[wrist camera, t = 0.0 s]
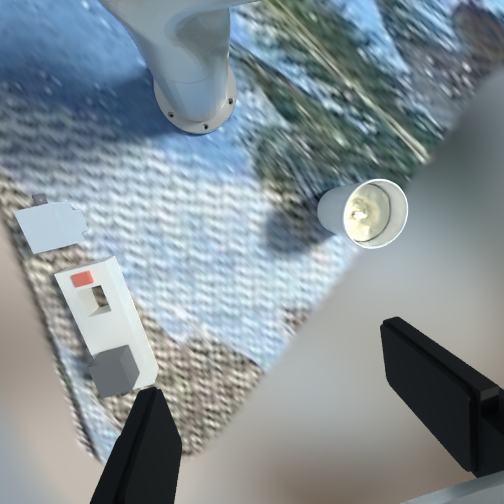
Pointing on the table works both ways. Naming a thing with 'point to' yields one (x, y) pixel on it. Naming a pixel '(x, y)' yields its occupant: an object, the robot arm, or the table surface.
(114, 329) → the power strip
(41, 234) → the grey plug
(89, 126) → the table surface
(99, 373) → the dark grey block
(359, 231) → the candle holder
